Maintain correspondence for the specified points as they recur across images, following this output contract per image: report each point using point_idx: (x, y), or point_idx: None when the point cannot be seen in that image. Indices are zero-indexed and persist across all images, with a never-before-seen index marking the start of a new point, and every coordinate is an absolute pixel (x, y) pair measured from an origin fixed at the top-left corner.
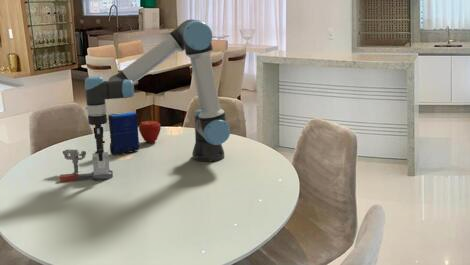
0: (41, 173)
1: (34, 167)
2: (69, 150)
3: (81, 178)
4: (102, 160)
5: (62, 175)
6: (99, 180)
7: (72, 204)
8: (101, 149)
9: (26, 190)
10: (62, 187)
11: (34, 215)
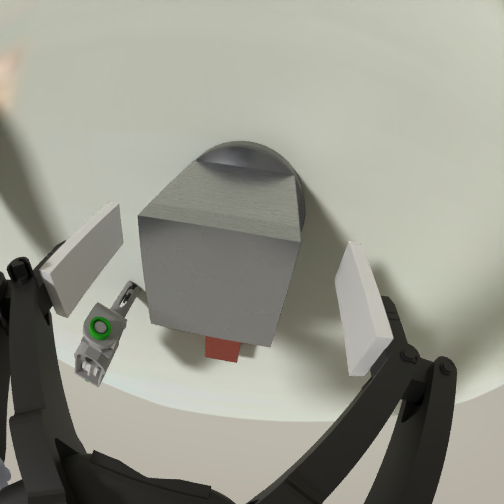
0: (130, 359)
1: None
2: (89, 373)
3: None
4: (390, 301)
5: (218, 354)
6: None
7: (467, 332)
8: (81, 261)
9: (276, 401)
10: (305, 348)
11: None
